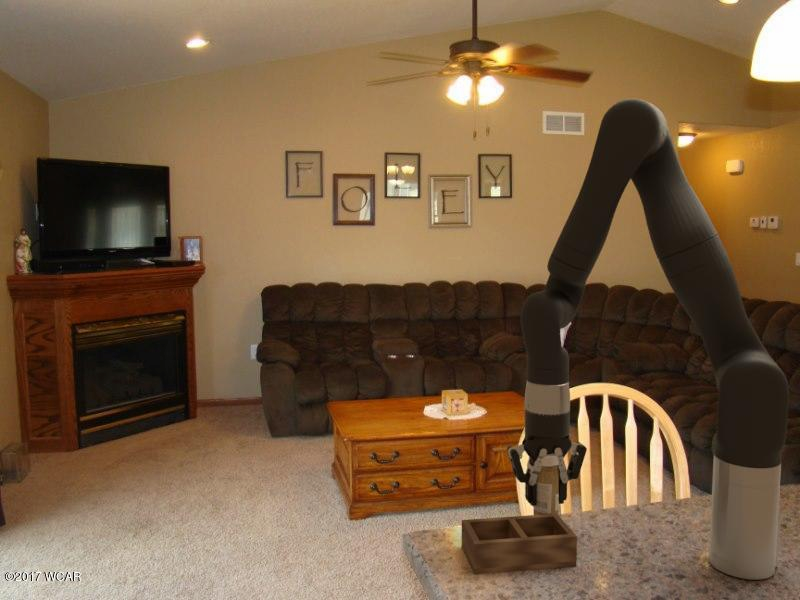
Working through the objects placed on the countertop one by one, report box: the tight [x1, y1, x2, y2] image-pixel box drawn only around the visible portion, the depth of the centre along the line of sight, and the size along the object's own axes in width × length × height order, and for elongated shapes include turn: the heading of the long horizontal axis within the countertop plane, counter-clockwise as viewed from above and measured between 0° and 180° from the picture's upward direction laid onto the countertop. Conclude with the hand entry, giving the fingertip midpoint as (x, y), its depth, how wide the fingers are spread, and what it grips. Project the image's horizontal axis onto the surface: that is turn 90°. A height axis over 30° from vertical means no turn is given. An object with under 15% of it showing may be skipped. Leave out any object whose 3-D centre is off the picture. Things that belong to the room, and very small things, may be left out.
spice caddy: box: [461, 513, 578, 575], centre depth 112 cm, size 16×9×5 cm, turn 98°
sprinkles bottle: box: [532, 454, 560, 515], centre depth 122 cm, size 5×5×14 cm
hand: (546, 502), depth 122 cm, fingers closed on sprinkles bottle, 4 cm apart
